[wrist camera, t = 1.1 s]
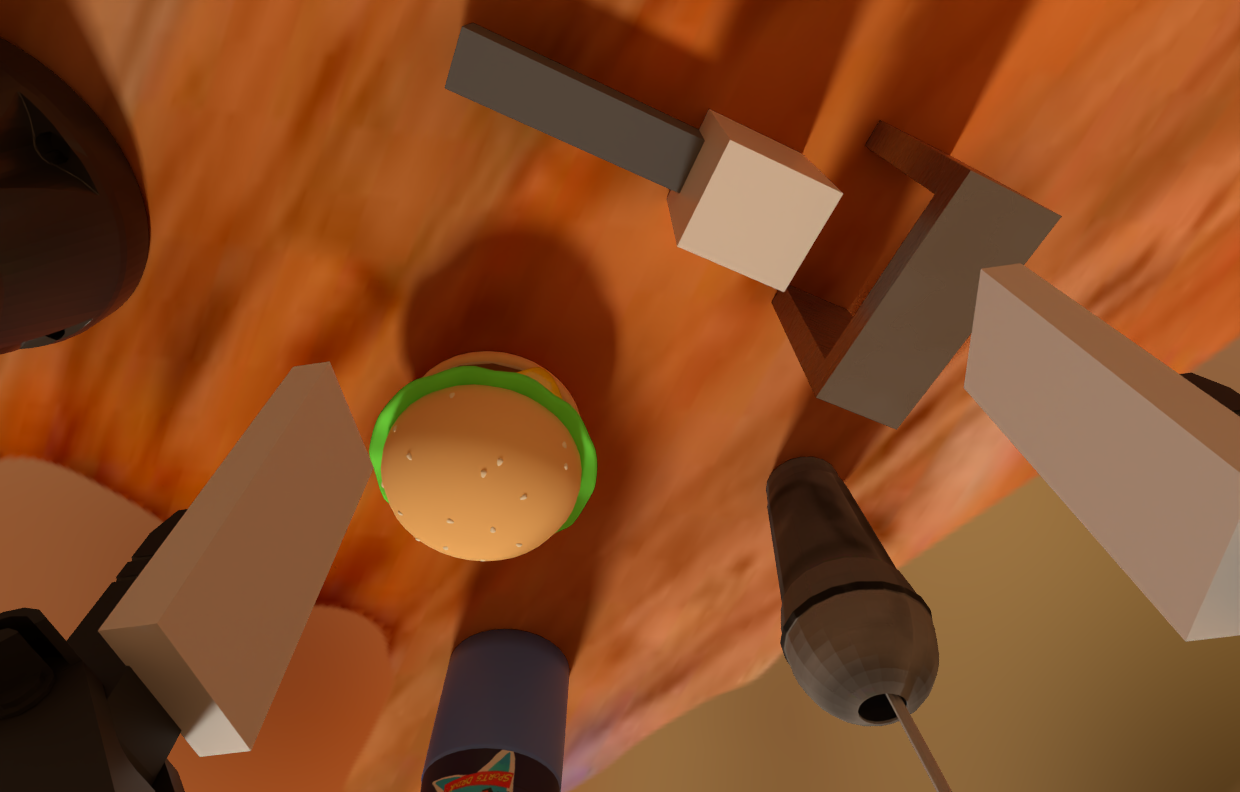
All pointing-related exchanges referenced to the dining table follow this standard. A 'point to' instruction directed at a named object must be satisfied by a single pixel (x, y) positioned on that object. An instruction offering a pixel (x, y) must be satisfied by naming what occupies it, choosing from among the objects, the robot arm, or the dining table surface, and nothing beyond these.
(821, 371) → the grey slab
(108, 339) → the dining table surface
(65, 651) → the robot arm
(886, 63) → the dining table surface
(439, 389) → the hamburger
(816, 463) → the beverage cup
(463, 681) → the water bottle
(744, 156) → the beige and grey hammer
